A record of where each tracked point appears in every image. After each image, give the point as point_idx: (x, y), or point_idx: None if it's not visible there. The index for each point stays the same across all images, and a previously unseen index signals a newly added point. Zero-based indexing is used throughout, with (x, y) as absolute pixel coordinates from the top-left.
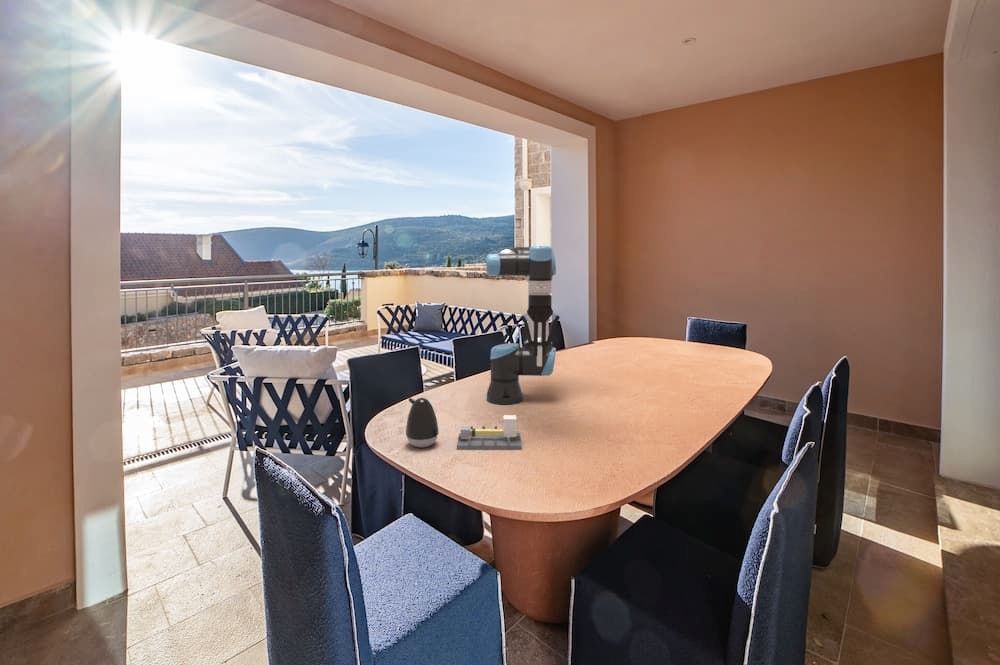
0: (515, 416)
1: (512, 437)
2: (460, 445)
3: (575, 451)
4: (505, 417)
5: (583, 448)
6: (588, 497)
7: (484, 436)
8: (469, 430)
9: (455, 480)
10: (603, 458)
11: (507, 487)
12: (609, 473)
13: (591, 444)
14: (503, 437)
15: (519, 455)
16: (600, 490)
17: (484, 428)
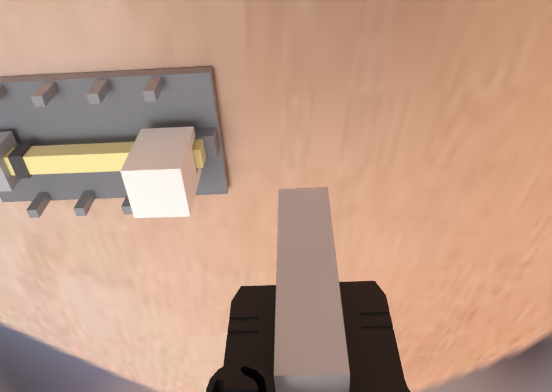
0: (180, 185)
1: (183, 123)
2: (15, 200)
3: (415, 192)
4: (137, 199)
5: (452, 168)
6: None
7: (67, 117)
8: (10, 190)
9: (92, 340)
10: (489, 234)
11: (214, 359)
12: (465, 306)
13: (497, 132)
14: (147, 124)
15: (226, 225)
16: (412, 363)
17: (47, 102)
